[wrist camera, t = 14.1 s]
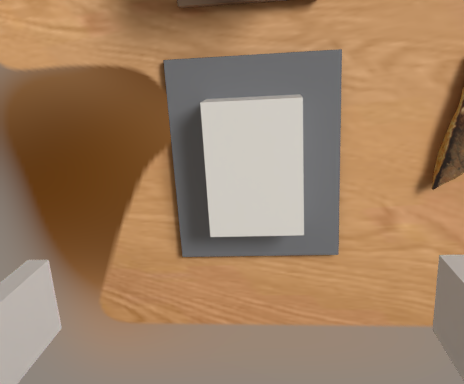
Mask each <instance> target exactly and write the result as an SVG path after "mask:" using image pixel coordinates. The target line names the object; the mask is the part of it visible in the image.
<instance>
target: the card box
mask: <svg viewBox="0 0 464 384" xmlns="http://www.w3.org/2000/svg"><path fill="white" fill-rule="evenodd" d="M200 106H201V120H202V133H203V146H204V159H205V173H206V186H207V199H208V212H209V225H210V237H242V236H296V235H304V173H303V97H302V96H301V95H300V94H297V95H277V96H258V97H238V98H218V99H206V100H204V101H202V102H200Z"/></svg>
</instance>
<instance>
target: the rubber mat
mask: <svg viewBox="0 0 464 384" xmlns="http://www.w3.org/2000/svg"><path fill="white" fill-rule="evenodd" d="M163 61H164V71H165V81H166V92H167V102H168V112H169V122H170V133H171V143H172V153H173V164H174V174H175V184H176V195H177V205H178V215H179V226H180V236H181V246H182V256H183V257H204V256H276V255H338V246H339V187H340V128H341V69H342V49H340V50H324V51H307V52H291V53H274V54H257V55H241V56H224V57H208V58H191V59H174V60H163ZM297 94H300V95H301V96H302V97H303V173H304V235H296V236H242V237H210V225H209V212H208V199H207V186H206V173H205V159H204V146H203V133H202V120H201V106H200V102H202V101H204V100H206V99H218V98H238V97H258V96H277V95H297Z"/></svg>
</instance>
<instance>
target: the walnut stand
mask: <svg viewBox="0 0 464 384" xmlns="http://www.w3.org/2000/svg"><path fill="white" fill-rule="evenodd" d="M271 1H285V0H177V3H178V7H180V8H188V7H202V6H216V5H230V4H244V3H257V2H271Z"/></svg>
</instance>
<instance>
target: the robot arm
mask: <svg viewBox="0 0 464 384" xmlns="http://www.w3.org/2000/svg"><path fill="white" fill-rule="evenodd" d="M61 328H62V327H61V321H60V316H59V311H58V306H57V301H56V296H55V291H54V285H53V280H52V275H51V270H50V265H49V260H27V261H26V262H25V263H24V264H22V265H21V266H20V267H19V268H17V269H16V270H15V271H14V272H13V273H11V274H10V275H9V276H8V277H6V278H5V279H4V280H3V281H1V282H0V384H18V383H19V381H20V380H21V379H22V378H23V376H24V375H25V374H26V373H27V371H28V370H29V369H30V367H31V366H32V365H33V364H34V362H35V361H36V360H37V359H38V357H39V356H40V355H41V354H42V352H43V351H44V350H45V349H46V347H47V346H48V345H49V344H50V342H51V341H52V340H53V339H54V337H55V336H56V334H57V333H58V332H59V331H60V330H61ZM433 331H434V333H435V335H436V336H437V338H438V340H439V341H440V343H441V345H442V346H443V348H444V349H445V351H446V353H447V354H448V356H449V358H450V359H451V361H452V363H453V364H454V366H455V368H456V369H457V371H458V373H459V374H460V376H461V377H462V379H463V381H464V255H439V264H438V275H437V286H436V297H435V309H434V320H433Z"/></svg>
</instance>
